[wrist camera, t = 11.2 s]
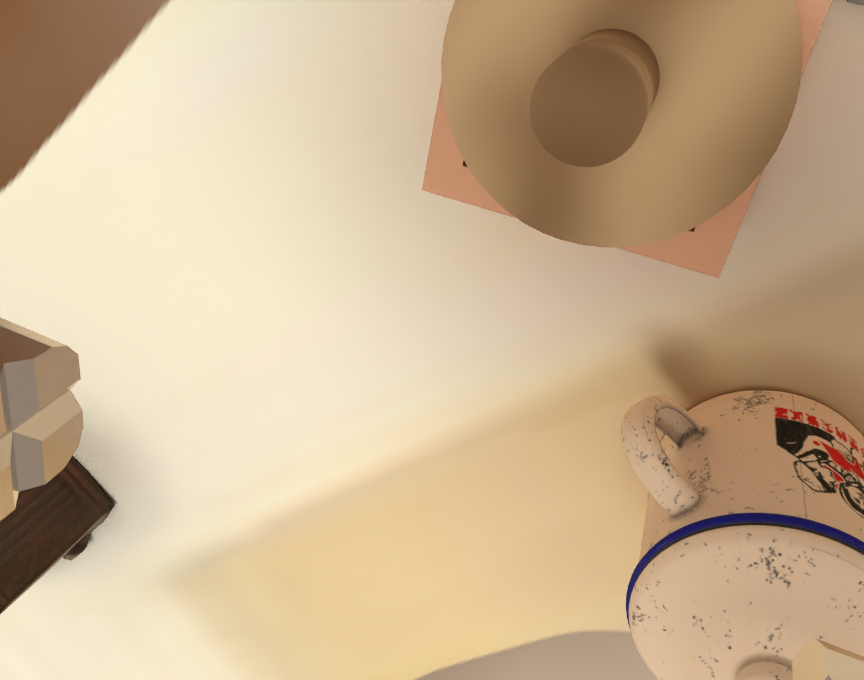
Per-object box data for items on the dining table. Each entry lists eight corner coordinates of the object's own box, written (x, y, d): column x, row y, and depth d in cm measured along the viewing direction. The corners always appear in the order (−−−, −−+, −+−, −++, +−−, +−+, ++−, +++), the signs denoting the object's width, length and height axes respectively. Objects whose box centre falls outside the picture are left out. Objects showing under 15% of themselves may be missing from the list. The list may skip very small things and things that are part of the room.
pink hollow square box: (841, -78, 24) (863, -76, 20) (721, 225, 29) (718, 278, 25) (524, -143, 26) (484, -154, 22) (464, 152, 31) (422, 190, 27)
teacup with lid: (935, 505, 31) (1024, 771, 22) (736, 589, 36) (736, 837, 27) (742, 282, 30) (744, 461, 20) (561, 401, 35) (493, 591, 25)
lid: (867, -77, 20) (901, -73, 16) (720, 277, 25) (717, 347, 21) (487, -156, 22) (431, -172, 18) (423, 188, 27) (369, 236, 23)
